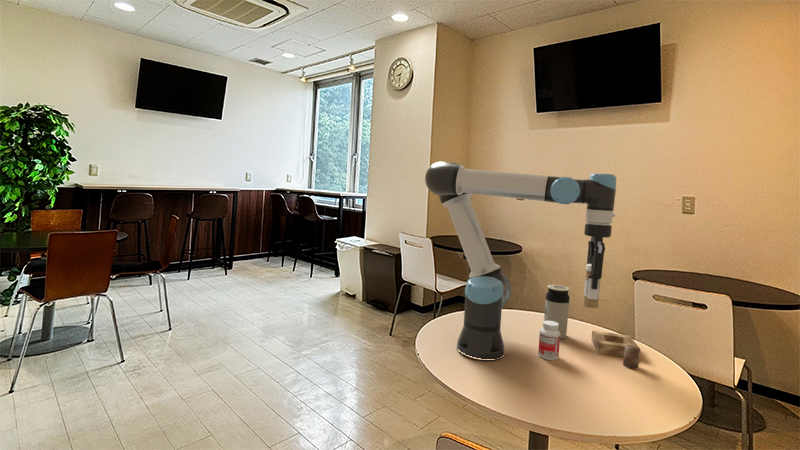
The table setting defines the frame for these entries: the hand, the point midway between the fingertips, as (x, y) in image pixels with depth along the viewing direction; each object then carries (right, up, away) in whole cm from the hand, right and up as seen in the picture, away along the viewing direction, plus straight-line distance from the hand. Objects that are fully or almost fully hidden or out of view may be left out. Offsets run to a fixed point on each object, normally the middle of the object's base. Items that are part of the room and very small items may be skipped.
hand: (591, 296), depth 127 cm
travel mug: (-4, -18, +20) cm, 27 cm away
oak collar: (+12, -19, +9) cm, 24 cm away
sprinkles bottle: (0, -3, 0) cm, 3 cm away
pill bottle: (-13, -19, 0) cm, 24 cm away
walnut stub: (+10, -21, -4) cm, 23 cm away
